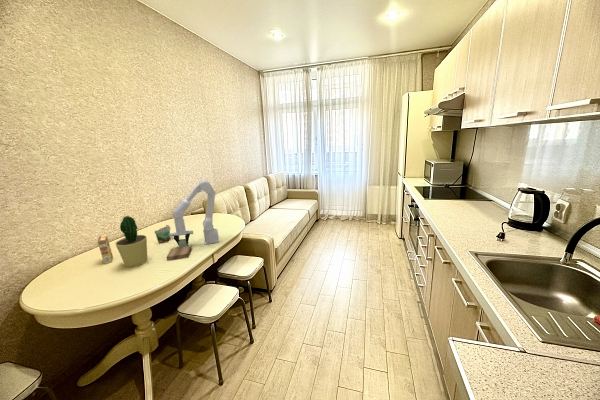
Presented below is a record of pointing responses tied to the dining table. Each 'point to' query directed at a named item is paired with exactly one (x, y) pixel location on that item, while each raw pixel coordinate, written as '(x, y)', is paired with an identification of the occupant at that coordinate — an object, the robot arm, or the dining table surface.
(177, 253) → the walnut box
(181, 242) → the sage block
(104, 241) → the candy box
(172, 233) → the robot arm
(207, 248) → the dining table surface
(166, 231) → the food container
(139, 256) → the potted cactus
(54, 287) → the dining table surface
